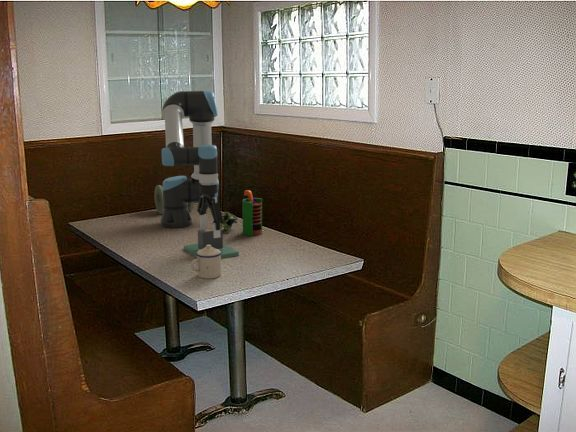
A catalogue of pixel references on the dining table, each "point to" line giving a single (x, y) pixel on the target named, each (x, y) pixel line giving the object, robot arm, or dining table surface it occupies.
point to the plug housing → (209, 239)
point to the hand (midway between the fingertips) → (210, 233)
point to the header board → (225, 251)
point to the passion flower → (227, 220)
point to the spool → (159, 200)
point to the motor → (252, 215)
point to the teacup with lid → (208, 262)
